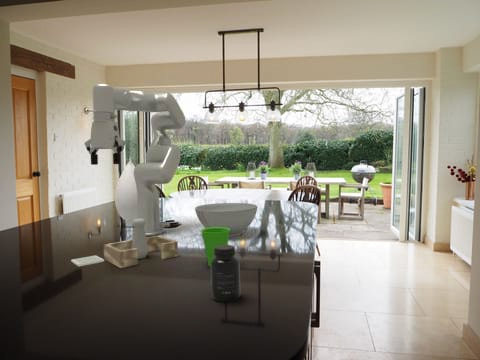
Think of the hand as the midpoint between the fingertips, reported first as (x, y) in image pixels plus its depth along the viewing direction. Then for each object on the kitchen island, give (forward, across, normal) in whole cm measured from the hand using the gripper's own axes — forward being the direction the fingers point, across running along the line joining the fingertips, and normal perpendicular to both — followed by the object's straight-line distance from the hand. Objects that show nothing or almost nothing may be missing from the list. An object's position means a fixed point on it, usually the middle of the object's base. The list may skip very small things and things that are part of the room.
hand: (105, 164), depth 140 cm
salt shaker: (+32, -20, +9) cm, 39 cm away
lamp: (+31, +18, -44) cm, 57 cm away
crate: (+32, -21, +10) cm, 39 cm away
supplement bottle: (+33, -60, +37) cm, 78 cm away
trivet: (+32, -6, +18) cm, 37 cm away
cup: (+32, -49, +13) cm, 60 cm away
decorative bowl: (+31, -36, -32) cm, 58 cm away
